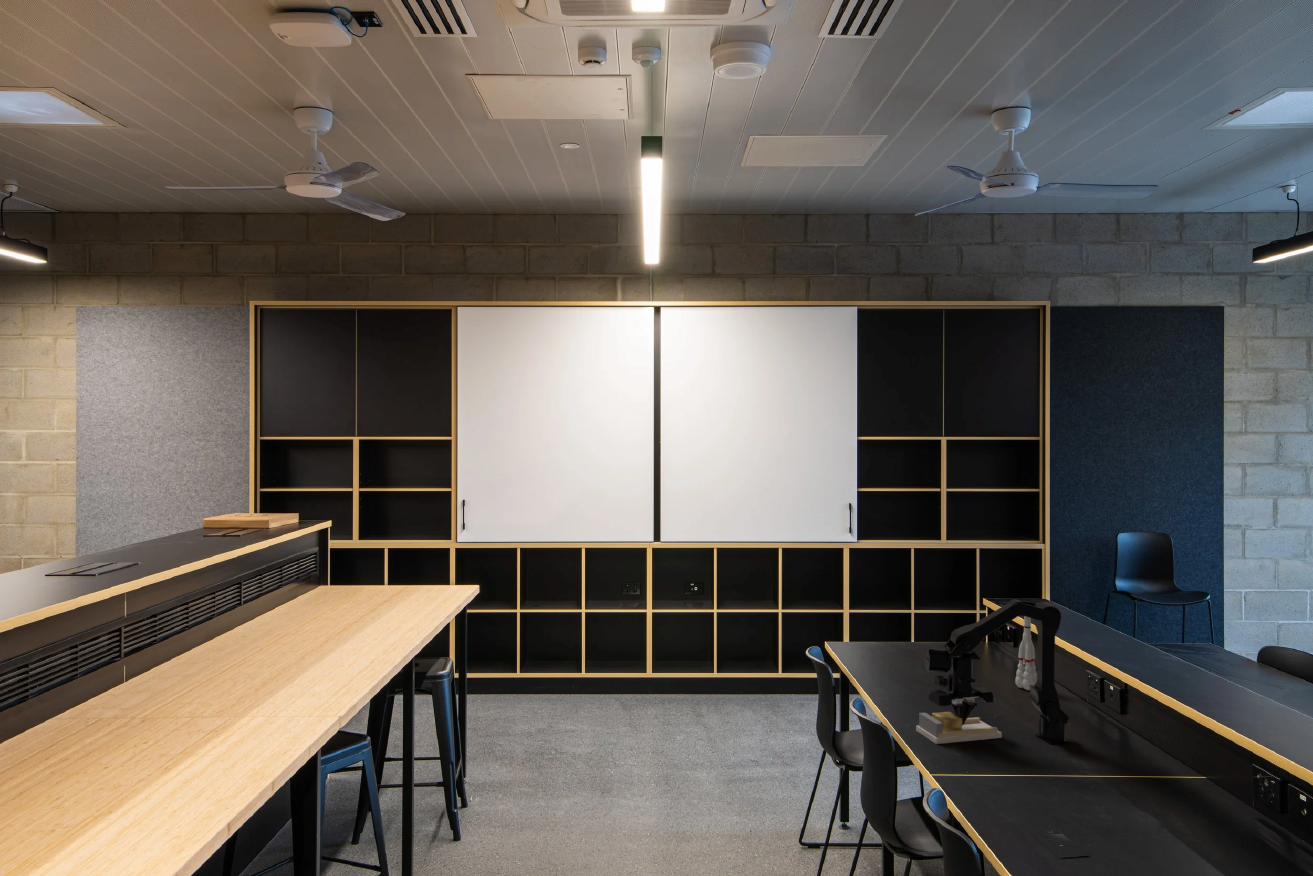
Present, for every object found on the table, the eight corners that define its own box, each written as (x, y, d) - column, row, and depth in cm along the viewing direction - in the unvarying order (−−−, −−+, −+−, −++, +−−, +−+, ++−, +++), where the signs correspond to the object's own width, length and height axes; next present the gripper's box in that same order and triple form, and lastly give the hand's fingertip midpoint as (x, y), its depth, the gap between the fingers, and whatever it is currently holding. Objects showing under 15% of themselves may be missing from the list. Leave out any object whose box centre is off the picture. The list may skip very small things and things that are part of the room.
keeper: (949, 725, 228) (949, 711, 228) (961, 732, 222) (962, 719, 222) (931, 726, 226) (931, 713, 226) (943, 734, 221) (944, 720, 221)
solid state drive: (1059, 860, 159) (1059, 857, 159) (1029, 835, 169) (1029, 832, 169) (1089, 858, 160) (1089, 855, 160) (1058, 833, 170) (1058, 830, 170)
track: (979, 725, 233) (979, 707, 233) (1001, 737, 223) (1002, 719, 223) (916, 730, 227) (916, 712, 227) (936, 744, 218) (936, 725, 218)
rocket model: (1012, 684, 272) (1014, 601, 272) (1034, 686, 271) (1036, 602, 270) (1017, 691, 265) (1019, 605, 265) (1040, 693, 263) (1042, 606, 263)
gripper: (971, 663, 236) (970, 713, 236) (918, 666, 231) (917, 717, 231) (996, 674, 225) (994, 726, 225) (940, 678, 220) (939, 731, 220)
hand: (960, 725), depth 226 cm, fingers closed
